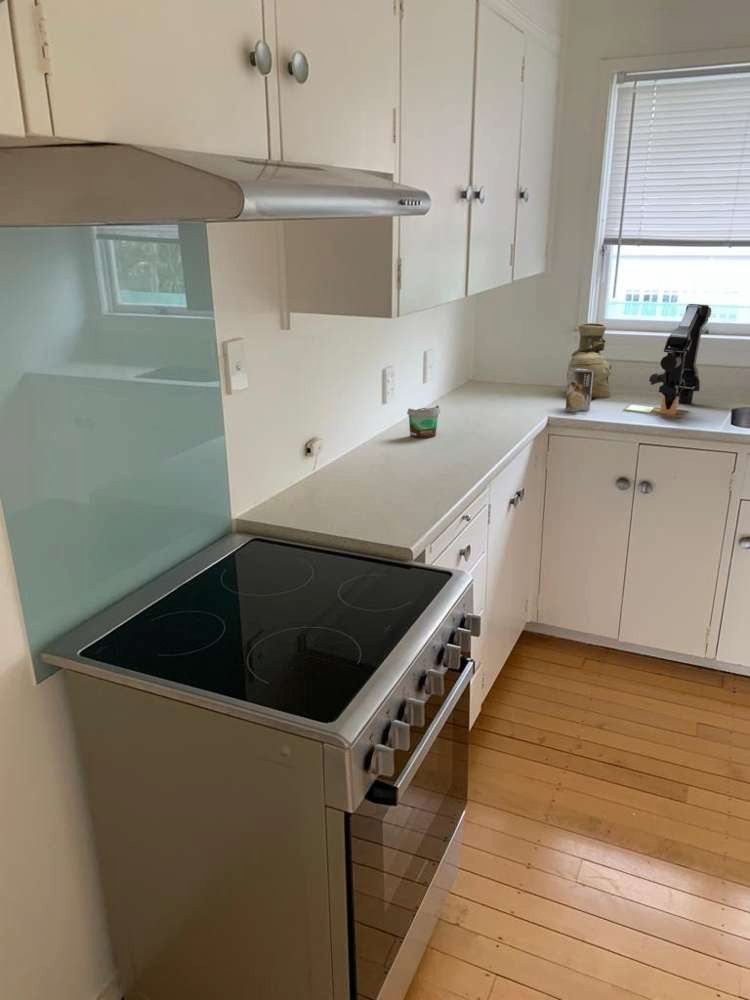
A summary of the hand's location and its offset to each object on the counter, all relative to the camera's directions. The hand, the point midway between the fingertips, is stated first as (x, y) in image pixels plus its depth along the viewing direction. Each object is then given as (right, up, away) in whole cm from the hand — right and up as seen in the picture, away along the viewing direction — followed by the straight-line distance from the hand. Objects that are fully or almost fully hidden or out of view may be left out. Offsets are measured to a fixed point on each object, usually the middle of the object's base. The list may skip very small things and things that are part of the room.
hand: (669, 407), depth 287 cm
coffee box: (-33, 0, +8) cm, 34 cm away
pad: (-9, 0, +6) cm, 11 cm away
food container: (-95, -14, -30) cm, 101 cm away
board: (-4, -2, +3) cm, 6 cm away
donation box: (0, -2, +1) cm, 2 cm away
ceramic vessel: (-22, +9, +32) cm, 40 cm away
